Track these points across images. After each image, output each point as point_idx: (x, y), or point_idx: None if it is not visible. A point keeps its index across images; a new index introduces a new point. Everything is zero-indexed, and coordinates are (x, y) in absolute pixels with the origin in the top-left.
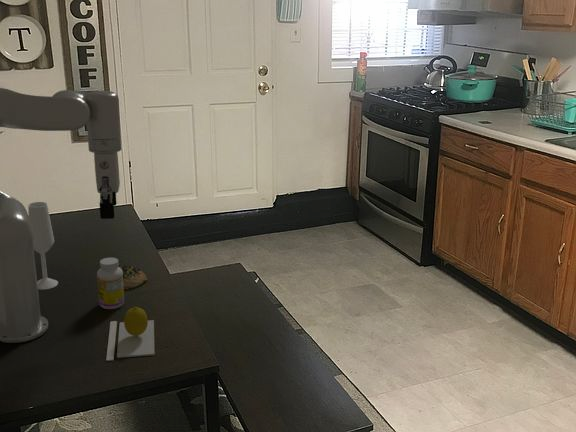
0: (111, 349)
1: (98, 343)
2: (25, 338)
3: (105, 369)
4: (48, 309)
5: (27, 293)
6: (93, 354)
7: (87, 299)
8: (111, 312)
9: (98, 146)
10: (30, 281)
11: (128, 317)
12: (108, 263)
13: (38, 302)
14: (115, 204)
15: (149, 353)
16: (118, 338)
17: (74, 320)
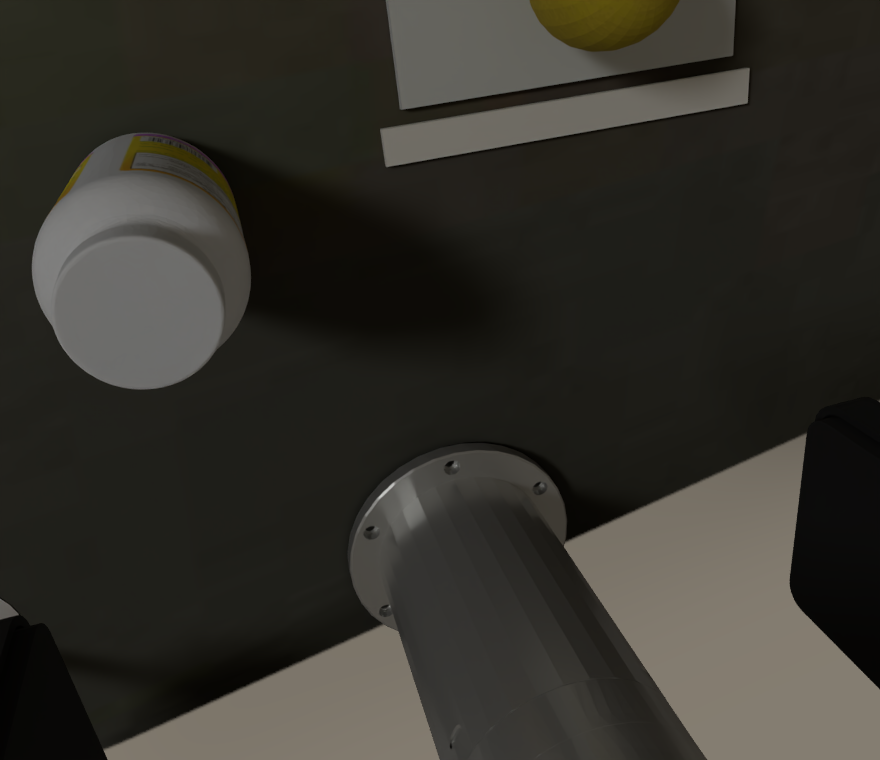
0: (665, 97)
1: (590, 178)
2: (558, 491)
3: (802, 91)
4: (255, 513)
5: (603, 618)
6: (679, 177)
7: None
8: (263, 188)
9: None
10: (614, 655)
11: (671, 14)
12: (200, 306)
13: (500, 550)
14: (40, 632)
15: None
16: (574, 80)
17: (364, 358)
